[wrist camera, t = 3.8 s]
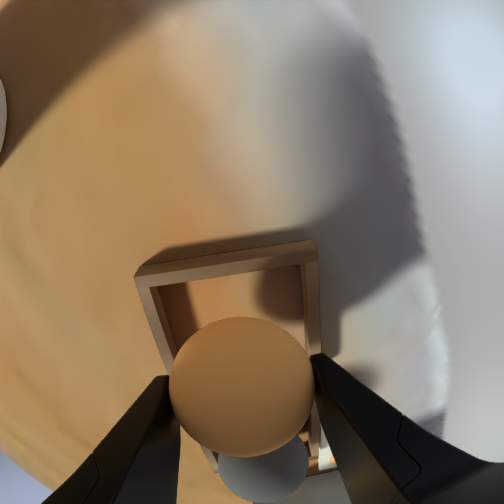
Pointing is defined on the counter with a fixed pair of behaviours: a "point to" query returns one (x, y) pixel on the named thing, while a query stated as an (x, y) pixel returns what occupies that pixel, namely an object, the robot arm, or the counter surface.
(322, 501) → the grey open box
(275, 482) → the gray ball
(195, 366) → the orange ball
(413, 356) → the counter surface
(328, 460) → the card
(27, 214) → the counter surface
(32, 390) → the counter surface
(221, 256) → the holder
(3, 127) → the supplement bottle
